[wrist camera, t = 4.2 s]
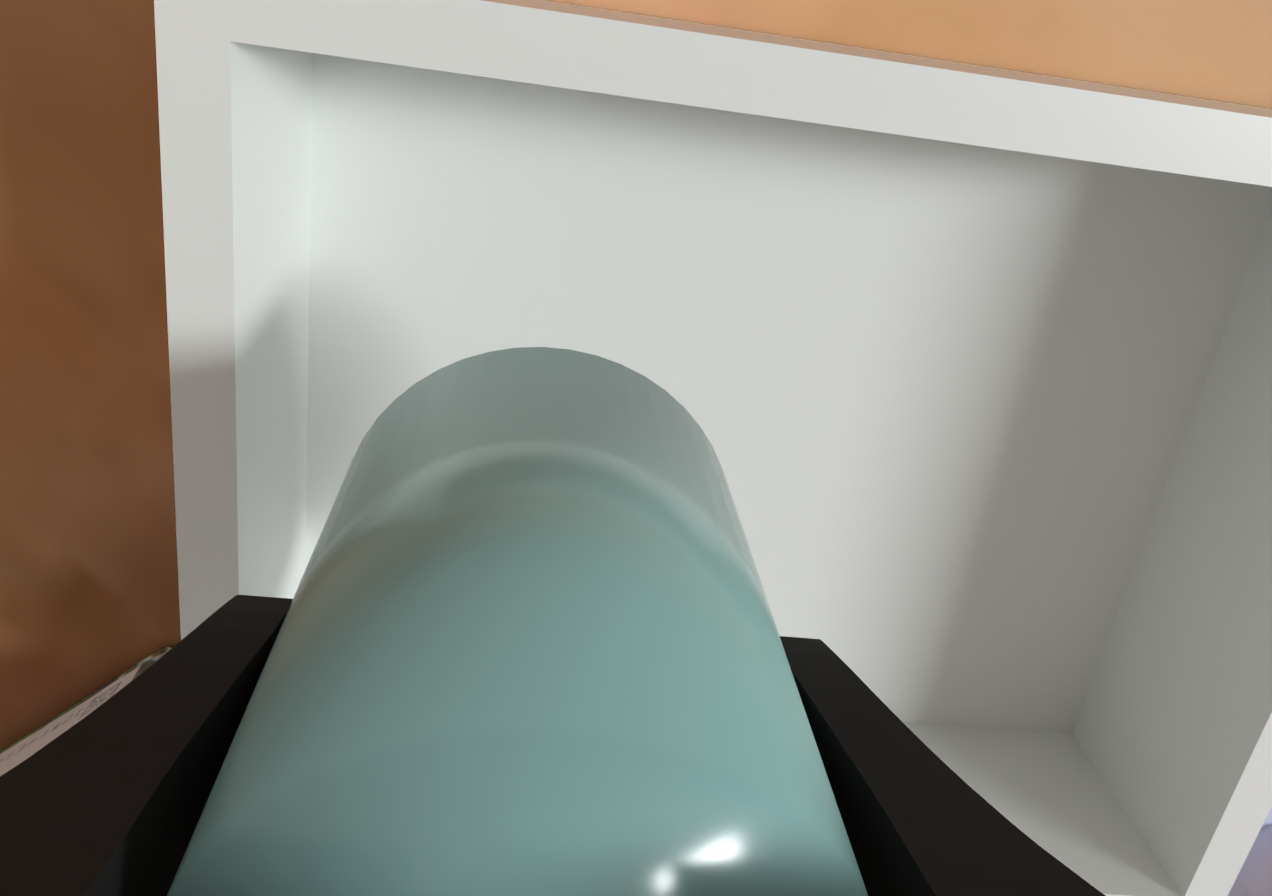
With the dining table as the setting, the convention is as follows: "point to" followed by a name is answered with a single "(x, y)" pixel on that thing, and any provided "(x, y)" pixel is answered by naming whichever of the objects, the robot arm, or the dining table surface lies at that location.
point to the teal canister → (526, 667)
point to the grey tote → (782, 354)
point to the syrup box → (70, 716)
